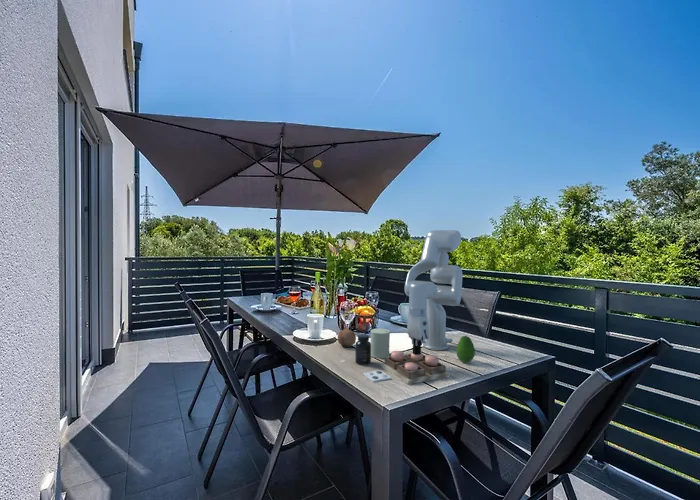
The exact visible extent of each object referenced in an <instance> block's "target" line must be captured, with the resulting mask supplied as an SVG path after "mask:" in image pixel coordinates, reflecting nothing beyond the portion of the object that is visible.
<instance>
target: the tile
mask: <svg viewBox="0 0 700 500" xmlns="http://www.w3.org/2000/svg"><path fill="white" fill-rule="evenodd" d="M363 376H365V377H366V378H368V379H369V380H370V381H371V382H372V383H376V382H382V381H385V380H391V379H392V377H391V376H390V375H389V374H388V373H385V372H384V371H383V370H381V369H380V370H372V371H367V372H363Z"/></svg>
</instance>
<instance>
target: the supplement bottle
mask: <svg viewBox="0 0 700 500" xmlns="http://www.w3.org/2000/svg"><path fill="white" fill-rule="evenodd" d="M369 336H370V335H368V334H363V333H362V334H358V335H357V341H356V342H355V351H354V353H355V358H354V359H355V363H356V364H357V365H359V366H368V365H370V364H371V363H372V361H371V360H372V356H371V341H369V340H370V337H369Z"/></svg>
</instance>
